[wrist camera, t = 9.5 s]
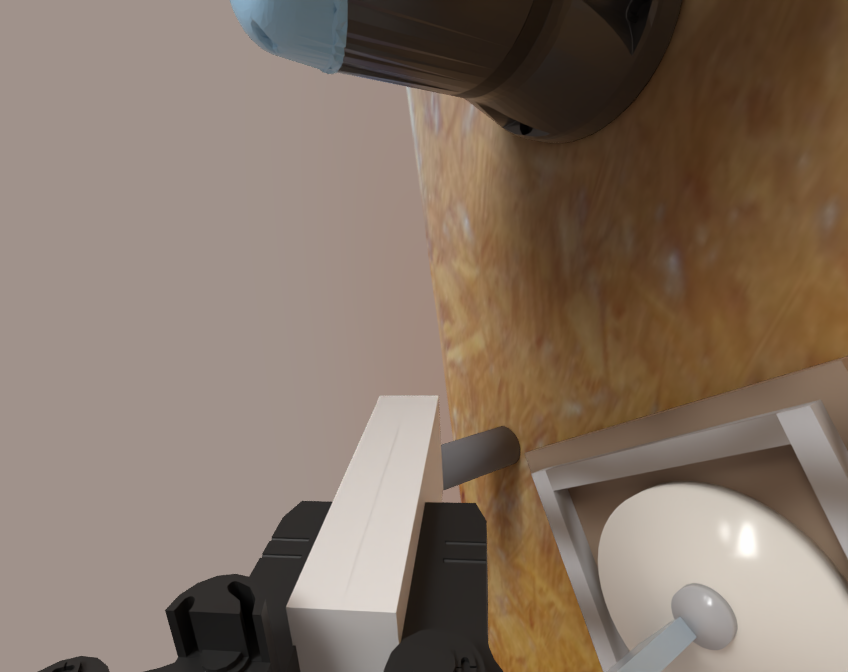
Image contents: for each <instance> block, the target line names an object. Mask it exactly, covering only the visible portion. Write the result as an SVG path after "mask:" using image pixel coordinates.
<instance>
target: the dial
mask: <svg viewBox="0 0 848 672" xmlns="http://www.w3.org/2000/svg"><path fill="white" fill-rule="evenodd" d="M598 571H599V578H600V584H601V589H602V592H603V596H604V599H605V603H606V605H607V608H608V611H609V613H610V616H611V618H612V620H613V622H614V624H615V626H616V628H617V631H618V632H619V634H620V636H621V637H622V639H623V641H624V643H625V644H626V646H627V648H628V649H629V650H630V652H628V653H627V654H626V655H625V656H624V657H623V658H621V659H620V660H619V661H618V662H617V663H616V664H614V665H613V666H612V667H611V668H610V669H609V670H607V671H606V672H848V582H847V581H846V579H845V578H844V576H843V575H842V573H841V572H840V571H839V570H838V568H837V567H836V566H835V565H834V563H833V562H832V561H831V560H830V558H829V557H828V556H827V555H826V554H825V553H824V552H823V551H822V550H821V549H820V548H819V547H818V546H817V544H816V543H815V542H814V541H813V540H812V539H811V538H809V537H808V536H807V535H806V534H805V533H804V532H802V531H801V530H800V529H799V528H798V527H797V526H795V525H794V524H793V523H792V522H790V521H789V520H787V519H786V518H785V517H783V516H782V515H780V514H779V513H778V512H776V511H775V510H773V509H771V508H769V507H768V506H766V505H764V504H763V503H761V502H759V501H757V500H755V499H753V498H751V497H749V496H747V495H744V494H742V493H740V492H738V491H735V490H732V489H729V488H726V487H723V486H720V485H715V484H711V483H706V482H698V481H671V482H665V483H660V484H657V485H655V486H652V487H649V488H647V489H645V490H643V491H641V492H640V493H638V494H636V495H634V496H632V497H631V498H629V499H627V500H625V501H624V502H623V503H622V504H621V505H619V506H618V507H617V508H616V509H615V510H614V512H613V513H612V514H611V515H610V517H609V519H608V520H607V522H606V524H605V526H604V529H603V531H602V534H601V538H600V543H599V548H598Z"/></svg>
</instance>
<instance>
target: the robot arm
mask: <svg viewBox="0 0 848 672" xmlns="http://www.w3.org/2000/svg"><path fill="white" fill-rule="evenodd" d="M230 2H231V5H232V8H233V11H234V13H235V15H236V17H237V19H238V20H239V22H240V24H241V26H242V28H243V29H244V31H245V32H246V33H247V34H248V36H249V37H250V38H251V40H253V41H254V42H255V43H256V44H257V45H258V46H259V47H261V48H262V49H263V50H265V51H267V52H269V53H271V54H273V55H276V56H279V57H283V58H286V59H289V60H292V61H296V62H298V63H302V64H305V65H308V66H311V67H314V68H318V69H320V70H321V71H322V72H325V73H327V74H334V73H336V72H337V73H342V74H347V75H352V76H357V77H362V78H367V79H372V80H377V81H383V82H388V83H393V84H397V85H402V86H407V87H412V88H417V89H422V90H427V91H432V92H437V93H442V94H447V95H452V96H456V97H461V98H465V99H466V100H467V101H469V102H470V103H471V104H473V105H474V106H475V107H476V108H478V109H479V110H480V111H482V112H483V113H484V114H486V115H487V116H488V117H490V118H491V119H492V120H493V121H495V122H496V123H497V124H499V125H500V126H501V127H503V128H504V129H505V130H507V131H509V132H510V133H512V134H514V135H516V136H519V137H521V138H525V139H529V140H535V141H540V142H547V143H566V142H571V141H575V140H578V139H581V138H584V137H586V136H589V135H591V134H592V133H594V132H596V131H598V130H600V129H601V128H603V127H604V126H606V125H607V124H608V123H610V122H611V121H612V120H614V119H615V118H616V117H617V116H618V115H619V114H621V113H622V112H623V111H624V110H625V109H626V108H627V107H628V106H629V105H630V104H631V103H632V101H633V100H634V99H635V98H636V97H637V96H638V94H639V93H640V92H641V90H642V89H643V88H644V87H645V85H646V84H647V82H648V81H649V79H650V78H651V76H652V75H653V73H654V71H655V70H656V68H657V66H658V64H659V63H660V61H661V59H662V57H663V55H664V53H665V51H666V49H667V46H668V44H669V41H670V39H671V37H672V34H673V31H674V28H675V25H676V22H677V18H678V15H679V11H680V6H681V2H682V0H230ZM439 416H440V414H439V396H380V397H379V399H378V401H377V404H376V406H375V408H374V410H373V413H372V415H371V417H370V420H369V422H368V424H367V426H366V428H365V431H364V433H363V435H362V437H361V440H360V442H359V444H358V447H357V448H356V451H355V453H354V455H353V457H352V460H351V462H350V464H349V467H348V469H347V471H346V473H345V475H344V478H343V480H342V482H341V485H340V487H339V489H338V491H337V493H336V496H335V498H334V500H333V502H319V501H302V502H300V503H299V504H298V505H297V506H296V507H294V508H293V509H292V510H291V511H290V512H289V513H287V514H286V515H285V516H284V517H283V518H282V520H281V522H280V523H279V525H278V527H277V529H276V531H275V532H274V534H273V536H272V540H271V541H269V543H268V545H267V547H266V548H265V550H264V552H263V555H262V558H260V559H259V561H258V562H257V564H256V566H255V568H254V569H253V571H252V573H251V575H250V576H249V577H247V576H243V575H238V574H231V575H221V576H216V577H213V578H210V579H208V580H205V581H202V582H200V583H197V584H196V585H194V586H193V587H191V588H189V589H188V590H186V591H185V592H183V593H182V594H180V595H179V596H178V597H177V598H176V599H175V600H174V601H173V602H172V603H171V605H170V606H169V607H168V608H167V609H166V610H165V611H166V615H167V618H168V622H169V625H170V629H171V632H172V636H173V640H174V643H175V647H176V651H177V654H178V659H177V660H176V662H175V663H173V664H170V665H167V666H164V667H161V668H157V669H153V670H149V671H145V672H503V671H502V669H501V668H500V667H499V665H498V664H497V663H496V661H495V660H494V658H493V655H492V653H491V651H490V649H489V645H488V574H487V526H486V520H485V518H484V516H483V515H482V513H481V511H480V510H479V508H478V506H477V505H476V503H442V494H443V472H442V453H441V435H440V417H439ZM38 672H109V669H108V666H106V664H104V663H103V662H102V661H101V660H99V659H98V658H94V657H85V656H79V657H75V658H71V659H67V660H62V661H59V662H57V663H55V664H53V665H51V666H49V667H47V668H45V669H43V670H41V671H38Z"/></svg>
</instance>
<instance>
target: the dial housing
mask: <svg viewBox="0 0 848 672" xmlns="http://www.w3.org/2000/svg"><path fill="white" fill-rule="evenodd" d="M524 454H525V456H526V459H527V462H528V464H529V467H530V470H531V473H532V477H533V480H534V483H535V485H536V488H537V491H538V494H539V496H540V499H541V502H542V505H543V507H544V510H545V513H546V516H547V518H548V521H549V524H550V527H551V529H552V532H553V535H554V538H555V540H556V543H557V546H558V549H559V551H560V554H561V557H562V559H563V562H564V565H565V568H566V570H567V573H568V576H569V579H570V581H571V584H572V587H573V590H574V592H575V595H576V598H577V601H578V603H579V606H580V609H581V612H582V614H583V617H584V620H585V623H586V625H587V628H588V631H589V634H590V636H591V639H592V642H593V645H594V647H595V650H596V653H597V655H598V658H599V661H600V664H601V666H602V669H603V672H606V671H607V670H609V669H610V668H611V667H612V666H613V665H614V664H616V663H617V662H618V661H619V660H620V659H621V658H623V657H624V656H625V655H626V654H627V653H628V652H630V650H629V649H628V648H627V646H626V644H625V643H624V641H623V639H622V637H621V636H620V634H619V632H618V631H617V628H616V626H615V624H614V622H613V620H612V618H611V616H610V613H609V611H608V608H607V605H606V603H605V599H604V596H603V592H602V589H601V584H600V578H599V571H598V548H599V543H600V538H601V534H602V531H603V529H604V526H605V524H606V522H607V520H608V519H609V517H610V515H611V514H612V513H613V512H614V510H615V509H616V508H617V507H618V506H619V505H621V504H622V503H623V502H624V501H625V500H627V499H629V498H631V497H632V496H634V495H636V494H638V493H640V492H641V491H643V490H645V489H647V488H649V487H652V486H655V485H657V484H660V483H665V482H671V481H698V482H706V483H711V484H715V485H720V486H723V487H726V488H729V489H732V490H735V491H738V492H740V493H742V494H744V495H747V496H749V497H751V498H753V499H755V500H757V501H759V502H761V503H763V504H764V505H766V506H768V507H769V508H771V509H773V510H775V511H776V512H778V513H779V514H780V515H782V516H783V517H785V518H786V519H787V520H789V521H790V522H792V523H793V524H794V525H795V526H797V527H798V528H799V529H800V530H801V531H802V532H804V533H805V534H806V535H807V536H808V537H809V538H811V539H812V540H813V541H814V542H815V543H816V544H817V546H818V547H819V548H820V549H821V550H822V551H823V552H824V553H825V554H826V555H827V556H828V557H829V558H830V560H831V561H832V562H833V563H834V565H835V566H836V567H837V568H838V570H839V571H840V572H841V573H842V575H843V576H844V578H845V579H846V581H847V582H848V356H846V357H843V358H839V359H836V360H832V361H829V362H826V363H822V364H819V365H816V366H812V367H809V368H806V369H802V370H799V371H795V372H792V373H789V374H785V375H782V376H779V377H775V378H772V379H769V380H765V381H762V382H758V383H755V384H752V385H748V386H745V387H742V388H738V389H735V390H732V391H728V392H725V393H721V394H718V395H715V396H711V397H708V398H705V399H701V400H698V401H695V402H691V403H688V404H685V405H681V406H678V407H674V408H671V409H668V410H664V411H661V412H658V413H654V414H651V415H648V416H644V417H641V418H637V419H634V420H631V421H627V422H624V423H621V424H617V425H614V426H611V427H607V428H604V429H600V430H597V431H594V432H590V433H587V434H584V435H580V436H577V437H574V438H570V439H567V440H563V441H560V442H557V443H553V444H550V445H547V446H543V447H540V448H537V449H535V450H532V451H529V452H527V453H524Z"/></svg>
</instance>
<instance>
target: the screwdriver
mask: <svg viewBox="0 0 848 672" xmlns="http://www.w3.org/2000/svg"><path fill="white" fill-rule="evenodd" d="M441 453H442V472H443V490H446V489H449V488H451V487H454V486H456V485H459V484H462V483H464V482H467V481H470V480H472V479H475V478H478V477H480V476H483V475H486V474H488V473H491V472H493V471H496V470H499V469H501V468H504V467H507V466H509V465H512V464H514V463H516V462H517V461H518V459H519V456H520V445H519V442H518V439H517V437H516V436H515V434H514V433H513V432H512V431H511V430H510V429H509V428H507V427H503V426H501V427H497V428H494V429H491V430H487V431H484V432H481V433H478V434H475V435H471V436H468V437H465V438H462V439H458V440H455V441H452V442H449V443H445V444H443V445H441Z"/></svg>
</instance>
